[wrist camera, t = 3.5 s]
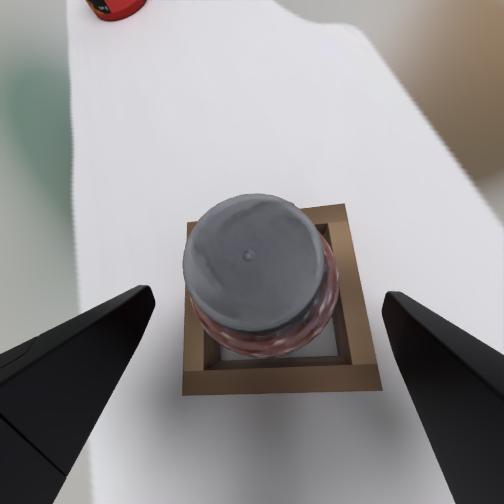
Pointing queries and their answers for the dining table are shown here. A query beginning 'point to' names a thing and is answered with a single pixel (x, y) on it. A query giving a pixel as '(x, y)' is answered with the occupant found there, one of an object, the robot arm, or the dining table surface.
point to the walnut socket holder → (302, 368)
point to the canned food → (115, 8)
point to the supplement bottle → (260, 276)
